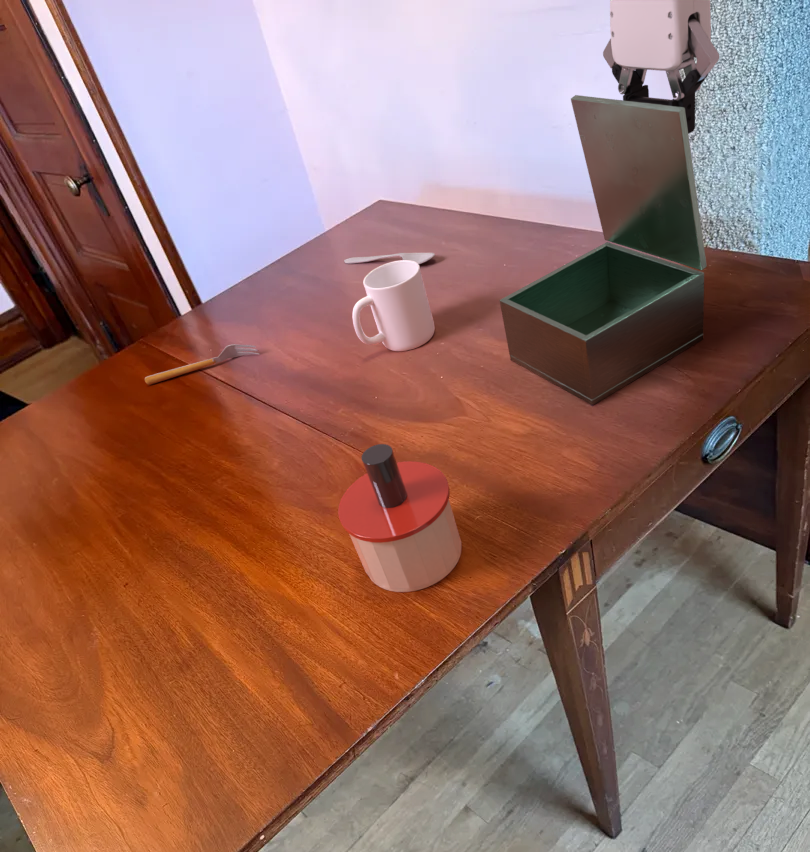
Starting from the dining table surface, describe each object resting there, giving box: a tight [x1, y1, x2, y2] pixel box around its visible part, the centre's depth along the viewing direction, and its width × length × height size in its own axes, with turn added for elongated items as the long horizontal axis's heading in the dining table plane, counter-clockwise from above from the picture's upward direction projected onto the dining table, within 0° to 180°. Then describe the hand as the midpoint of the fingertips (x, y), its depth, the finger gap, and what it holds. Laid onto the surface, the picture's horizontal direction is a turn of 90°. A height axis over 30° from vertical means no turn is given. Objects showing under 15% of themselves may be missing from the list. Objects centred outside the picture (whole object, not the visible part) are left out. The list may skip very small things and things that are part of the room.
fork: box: [144, 343, 261, 386], centre depth 122 cm, size 2×2×20 cm
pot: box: [348, 499, 463, 593], centre depth 76 cm, size 10×10×8 cm
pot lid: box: [337, 443, 451, 543], centre depth 72 cm, size 11×11×7 cm
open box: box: [499, 241, 705, 406], centre depth 94 cm, size 18×17×9 cm
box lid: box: [570, 94, 707, 271], centre depth 86 cm, size 18×17×5 cm
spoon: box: [343, 252, 436, 265], centre depth 134 cm, size 4×21×2 cm, turn 56°
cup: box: [351, 259, 436, 352], centre depth 109 cm, size 8×12×10 cm
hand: (658, 130), depth 84 cm, fingers closed on box lid, 6 cm apart
